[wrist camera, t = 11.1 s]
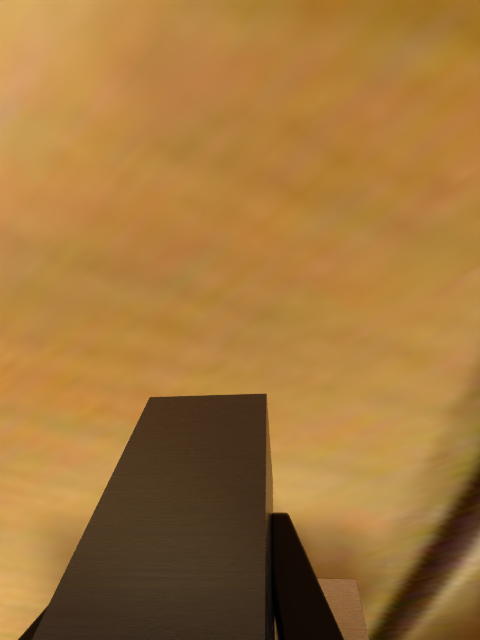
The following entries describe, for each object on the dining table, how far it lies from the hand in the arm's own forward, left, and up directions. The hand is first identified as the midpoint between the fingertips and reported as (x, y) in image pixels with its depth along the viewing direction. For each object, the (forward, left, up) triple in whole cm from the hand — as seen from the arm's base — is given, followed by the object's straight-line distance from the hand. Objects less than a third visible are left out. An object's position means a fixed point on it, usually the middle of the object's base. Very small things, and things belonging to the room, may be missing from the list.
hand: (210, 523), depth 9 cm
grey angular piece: (0, +2, -2) cm, 2 cm away
